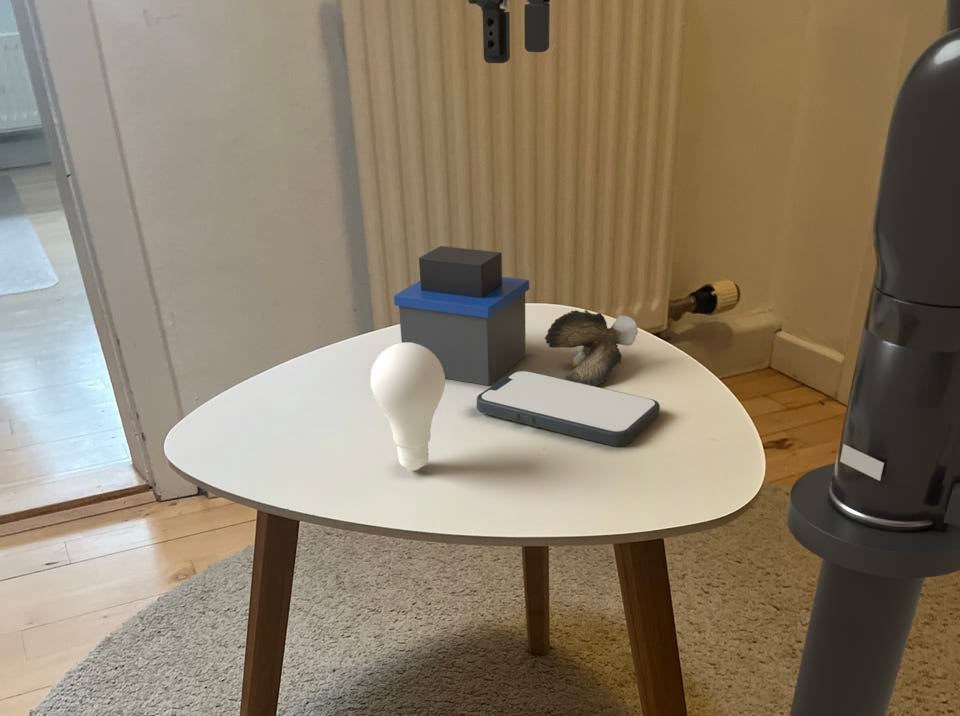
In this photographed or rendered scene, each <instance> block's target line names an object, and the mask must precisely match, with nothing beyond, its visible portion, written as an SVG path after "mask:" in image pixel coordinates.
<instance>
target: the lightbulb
mask: <svg viewBox="0 0 960 716" xmlns="http://www.w3.org/2000/svg"><path fill="white" fill-rule="evenodd" d="M369 383H370V384H369V385H370V390H371V393H372V396H373V397H374V399H375V401H376V404H378V407H379V408H380V409H381V411H382V412H383V414H384V415H385V416H386V418H387V420H388V422H389V425H390V429H391V432H392V438H393V441H394V443H395V444H396V447H397V448H396V450H397V455H398V462H399V464H400V465H401V466H402V467H404V468H406V469H408V470H410V471H412V472H413V471H418V470H420V469H421V468H423V467H424V466H426V465H427V464H428V462H429V442H430V440H431V428H432V421H433V418H434V415H435V412H436V410H437V409H438V406H439V404H440V402H441V399H442V397H443V395H444V392H445V387H446V378H445V375H444V371H443V368H442V365H441V363H440V361H439V360H438V359H437V357H436V356H435V355H434V354H433V353H432V352H431V351H430V350H429V349H427V348H425V347H424V346H421V345H419V344H415V343H410V342H405V343H402V342H399V343H396V344H395V343H394V344H392V345H391V346H388V347H387V348H386V349H384V350H383V351H382V352H381V353H380V354H379V355H378V357H377V358H376V359H375V361H374V363H373V365H372V367H371V371H370V380H369Z"/></svg>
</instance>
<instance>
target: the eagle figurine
mask: <svg viewBox="0 0 960 716" xmlns="http://www.w3.org/2000/svg"><path fill="white" fill-rule="evenodd" d="M638 331H639V330H638V324H637V322H636V320H635V319H633V318H632V317H630V316H628V315H623V314H620V315H618V316H617V317H616V319H615V321H614V322H613V323H612V325H611V327H608V323H607V321H606V318H605V316H604V315H603V314H602V313H601V312H598V313H592V312H589V311H588V310H587V309H585V310H584V311H580V310H578V309H577V310H576V309H575V310H571V311H570V312H569V311H568V312H567V313H564V314H563V315H561V316H559V317H558V318H556V319H554V321H553V322H552V323H551V325H550V327H549V328H548V329H547V333H546V335H545V336H544V340H545V344H548V347H549V348H551V349H558V348H559V349H560V348H565V349H567V348H568V349H574V348H577V347H582V348H581V349H580V351H578V353H577V354H576V355H575V357H574V358H573V363H572V365H571V367H573V369H572V370H571V371H570V372H569V373H568V374H566V375H564V376H563V377H562V379H564V380H568V381H573V382H577V383H582V384H586V385H591V386H598V385H600V384H602V383H603V382H605V381H606V380H607V379H608V378H609V376H610V374H611V373H612V372H613V369H615V367H616V366H617V365H619V364H620V363H621V362H622V361H621V360H622V357H623V356H622V352H620V349H619V345H622V346H625V347H629V346H632V345H633V344H634V343H635V341H636V337H637V335H638Z"/></svg>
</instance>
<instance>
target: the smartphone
mask: <svg viewBox="0 0 960 716" xmlns="http://www.w3.org/2000/svg"><path fill="white" fill-rule="evenodd" d="M660 409H661V405H660V403H659V401H657V400H655V399H652V398H648V397H643V396H639V395H634V394H630V393H627V392H621V391H618V390H617V391H616V390H613V389H608V388H603V387H599V386H596V385H592V386H591V385H586V384H582V383H577V382H573V381H568V380H564V379H563V378H561V377H556V376H555V377H554V376H550V375H546V374H541V373H537V372H532V371H528V370H515V371H513V372H510V373H509V374H508V375H507V376H505V377H503V378H502V379H500V380H499V381H497V382H496V383H495V384H493V385H491V386H490V387H489V388H486V389H485V390H484V391H482V392H480V393H479V394H478V395H477V396H476V410H477V411H478V412H479V413H482V414H484V415H489V416H493V417H497V418H500V419H505V420H509V421H512V422H517V423H519V424H525V425H529V426H533V427H536V428H541V429H545V430H548V431H552V432H556V433H560V434H564V435H567V436H572V437H577V438H580V439H584V440H588V441H592V442H596V443H600V444H604V445H608V446H611V447H623V446H626V445H629V444H630V443H631V442H632V441H634V439H636V438H637V437H638V436H639V435H640V434H641V433H643V431H645V430H646V429H647V428H648V427H649V426H650V425H652V423H653V422H655V421H656V420H657V419H658V418H659V416H660Z"/></svg>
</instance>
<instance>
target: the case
mask: <svg viewBox="0 0 960 716" xmlns="http://www.w3.org/2000/svg"><path fill="white" fill-rule="evenodd" d="M502 255H503V254H502V252H500V251H491V250H482V249H481V250H480V249H474V248H473V249H472V248H464V247H463V248H461V247H453V246H444V245H440V246H438V247H436V248H435V249H434V248H433V250H431V251H429V252H427V253H425V254H423V255H421V256H419V257H418V268H419V281H420V283H421V290H424V291H432V292H440V293H448V294H456V295H463V296H471V297H479V298H483V297H484V296H486V295H487V294H489V293H490V292H492V291H493V290H495V289H496V288H498V287H499V286H501V285H502V277H503V263H502V262H503V259H502V257H503V256H502Z"/></svg>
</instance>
